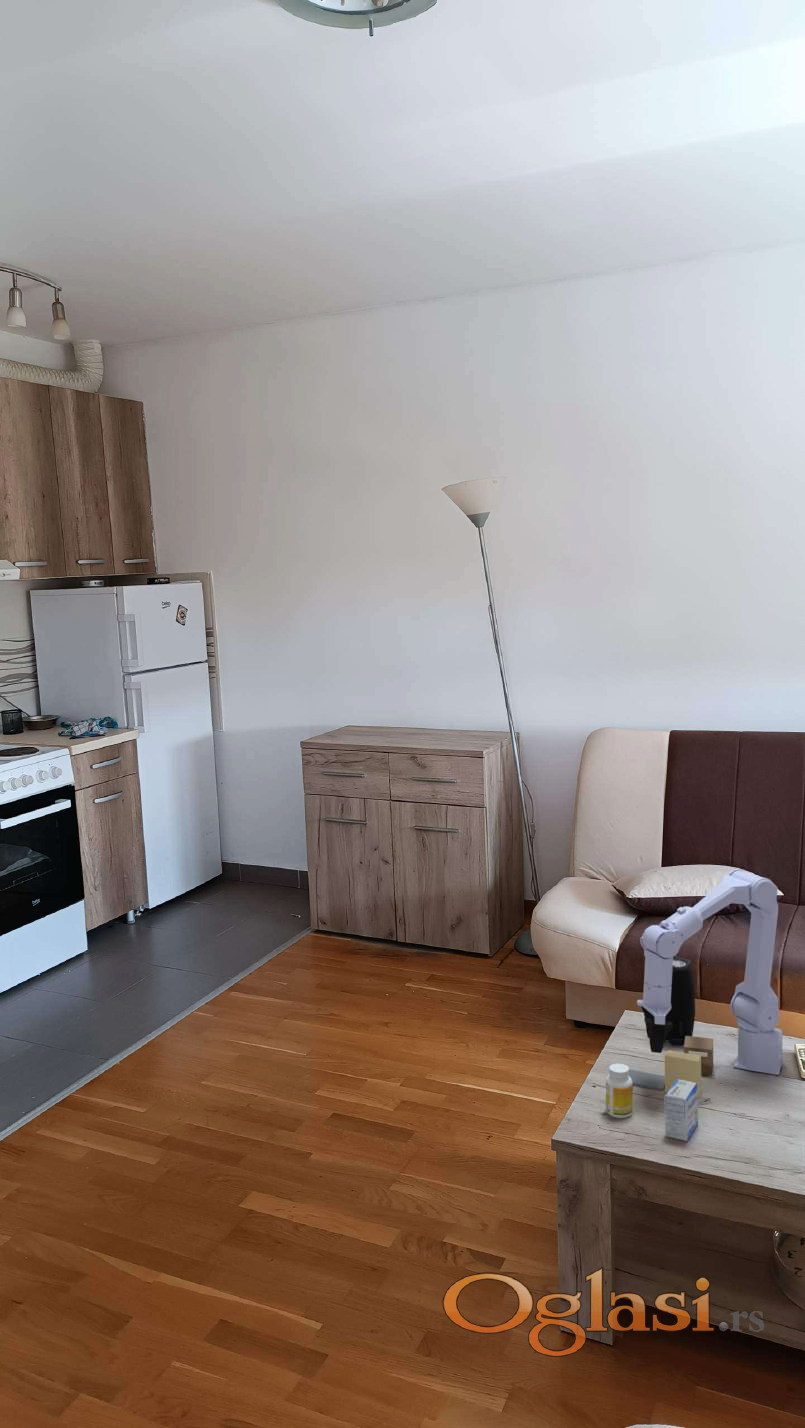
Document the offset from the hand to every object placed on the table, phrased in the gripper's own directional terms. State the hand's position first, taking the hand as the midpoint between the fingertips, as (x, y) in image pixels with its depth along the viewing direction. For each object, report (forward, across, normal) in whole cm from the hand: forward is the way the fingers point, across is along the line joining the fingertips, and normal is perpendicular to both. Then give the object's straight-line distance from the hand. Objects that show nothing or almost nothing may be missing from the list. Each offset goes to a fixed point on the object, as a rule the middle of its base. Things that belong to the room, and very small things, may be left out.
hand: (654, 1044), depth 211 cm
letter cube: (+9, -11, +11) cm, 18 cm away
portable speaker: (+9, -26, +8) cm, 28 cm away
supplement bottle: (+11, +10, -7) cm, 17 cm away
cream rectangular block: (+10, 0, +6) cm, 12 cm away
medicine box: (+11, +16, +4) cm, 20 cm away
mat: (+10, -4, -1) cm, 11 cm away
